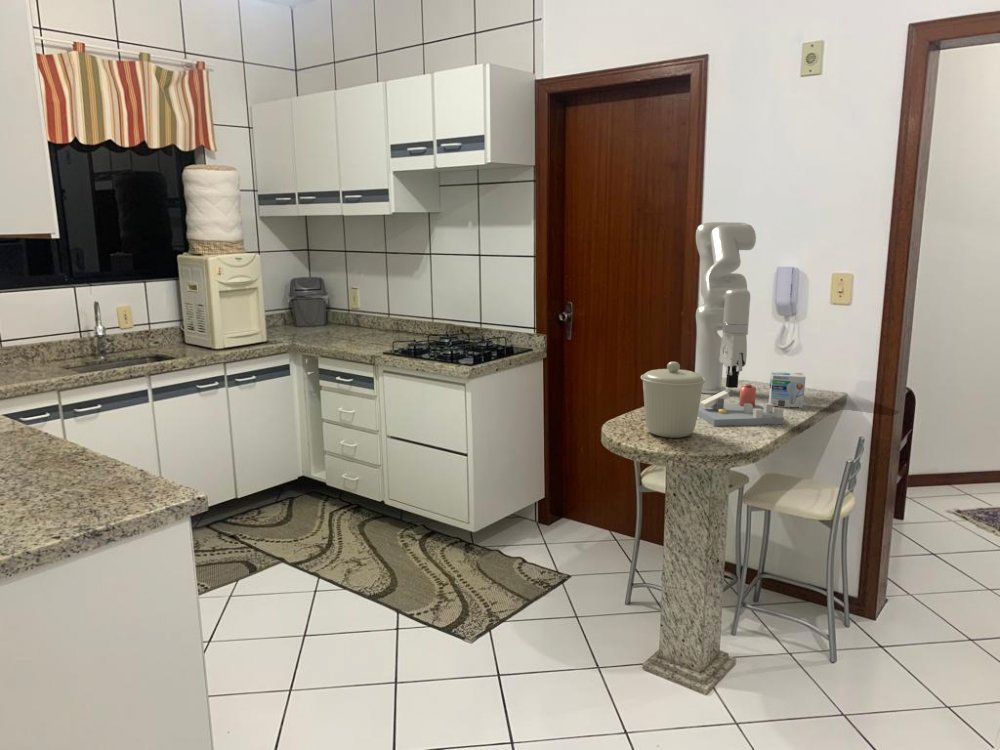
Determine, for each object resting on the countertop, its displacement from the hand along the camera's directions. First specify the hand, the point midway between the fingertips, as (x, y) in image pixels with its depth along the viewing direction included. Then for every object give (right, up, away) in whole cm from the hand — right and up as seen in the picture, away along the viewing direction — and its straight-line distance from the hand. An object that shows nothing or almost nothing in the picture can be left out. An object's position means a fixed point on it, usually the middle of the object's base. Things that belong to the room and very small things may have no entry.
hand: (731, 387), depth 241 cm
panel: (+1, -9, -1) cm, 9 cm away
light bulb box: (+23, -7, +16) cm, 29 cm away
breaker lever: (-4, -4, 0) cm, 6 cm away
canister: (-24, -13, -20) cm, 34 cm away
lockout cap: (+7, -6, +6) cm, 11 cm away
